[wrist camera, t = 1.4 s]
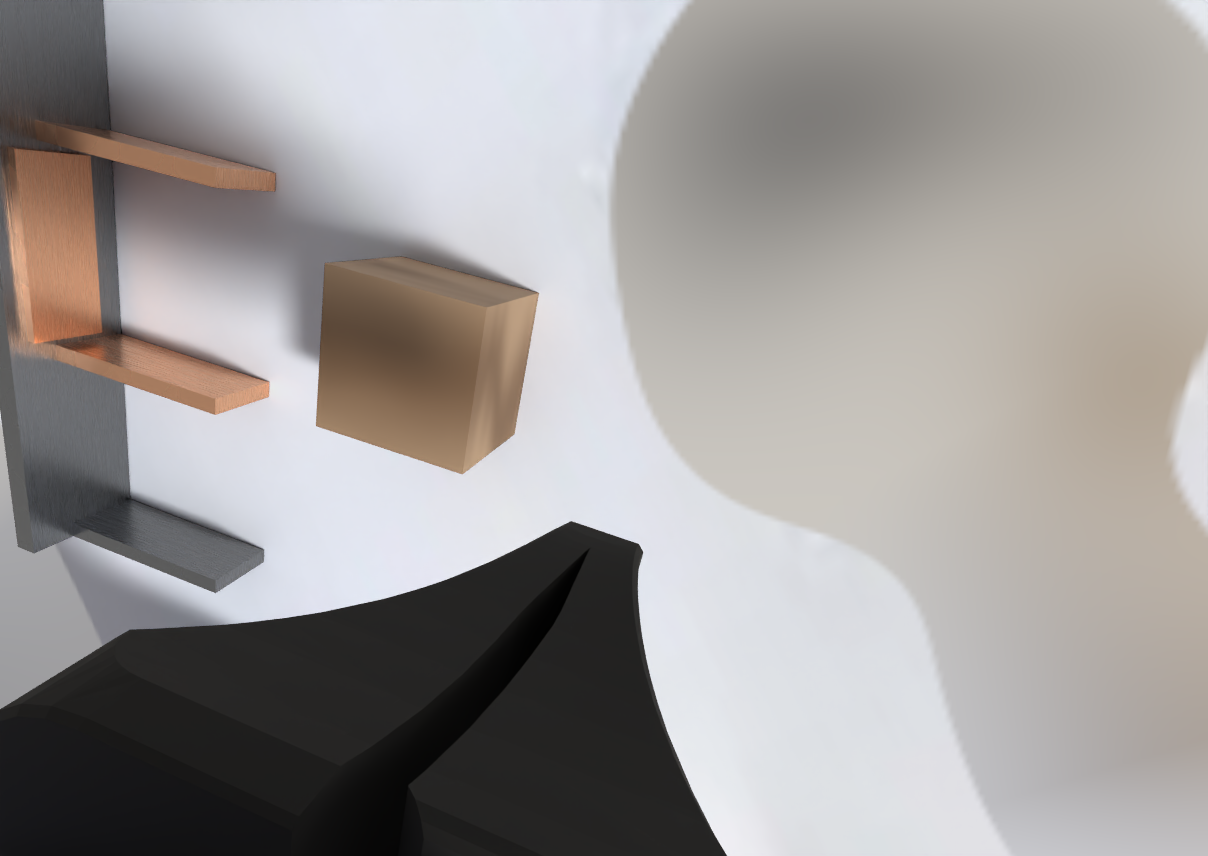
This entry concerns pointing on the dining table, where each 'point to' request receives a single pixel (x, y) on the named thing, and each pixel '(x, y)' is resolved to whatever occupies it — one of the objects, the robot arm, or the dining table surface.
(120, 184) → the dining table surface
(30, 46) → the rack
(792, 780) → the dining table surface
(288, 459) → the dining table surface
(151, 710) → the robot arm
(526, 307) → the walnut block
